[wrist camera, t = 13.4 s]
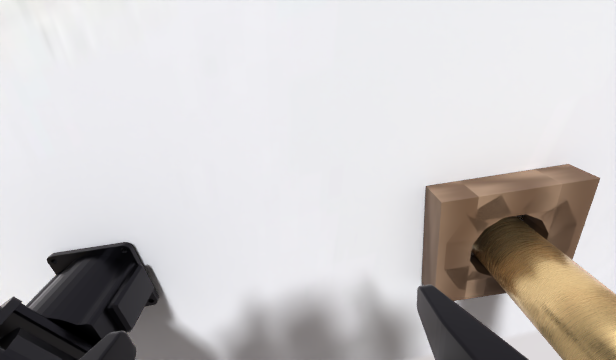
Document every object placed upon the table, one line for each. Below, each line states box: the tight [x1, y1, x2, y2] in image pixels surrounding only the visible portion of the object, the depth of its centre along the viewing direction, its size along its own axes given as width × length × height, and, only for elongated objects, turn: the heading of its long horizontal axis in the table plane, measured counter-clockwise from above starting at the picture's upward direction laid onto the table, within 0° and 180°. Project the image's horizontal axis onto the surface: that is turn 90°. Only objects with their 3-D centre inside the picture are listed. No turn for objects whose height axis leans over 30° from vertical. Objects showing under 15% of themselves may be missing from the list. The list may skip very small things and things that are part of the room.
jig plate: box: [422, 164, 600, 301], centre depth 23 cm, size 11×10×2 cm
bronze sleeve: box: [471, 216, 616, 360], centre depth 18 cm, size 4×4×15 cm
